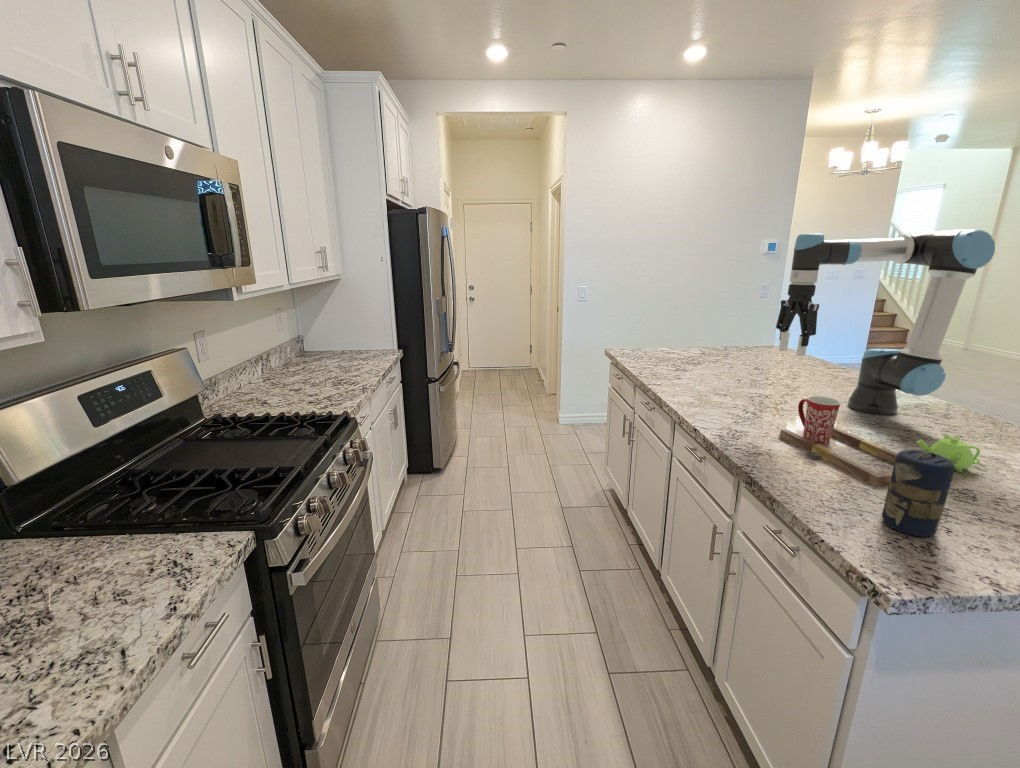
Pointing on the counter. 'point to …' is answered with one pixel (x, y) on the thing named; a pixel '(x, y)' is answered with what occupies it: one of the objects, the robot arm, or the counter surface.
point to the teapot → (953, 452)
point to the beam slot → (856, 469)
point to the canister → (917, 492)
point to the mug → (819, 418)
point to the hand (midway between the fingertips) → (791, 353)
